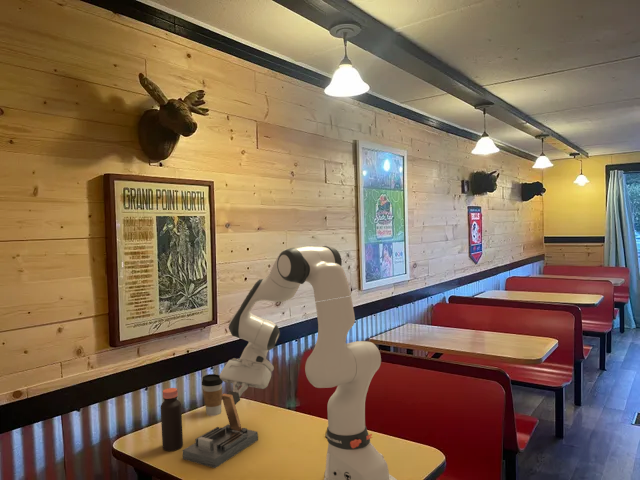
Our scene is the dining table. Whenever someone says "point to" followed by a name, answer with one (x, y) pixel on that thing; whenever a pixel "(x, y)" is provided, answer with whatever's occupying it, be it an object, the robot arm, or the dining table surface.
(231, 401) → the brown and black bar
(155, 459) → the dining table surface
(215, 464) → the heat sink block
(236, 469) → the dining table surface
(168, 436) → the bottle
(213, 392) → the coffee cup
